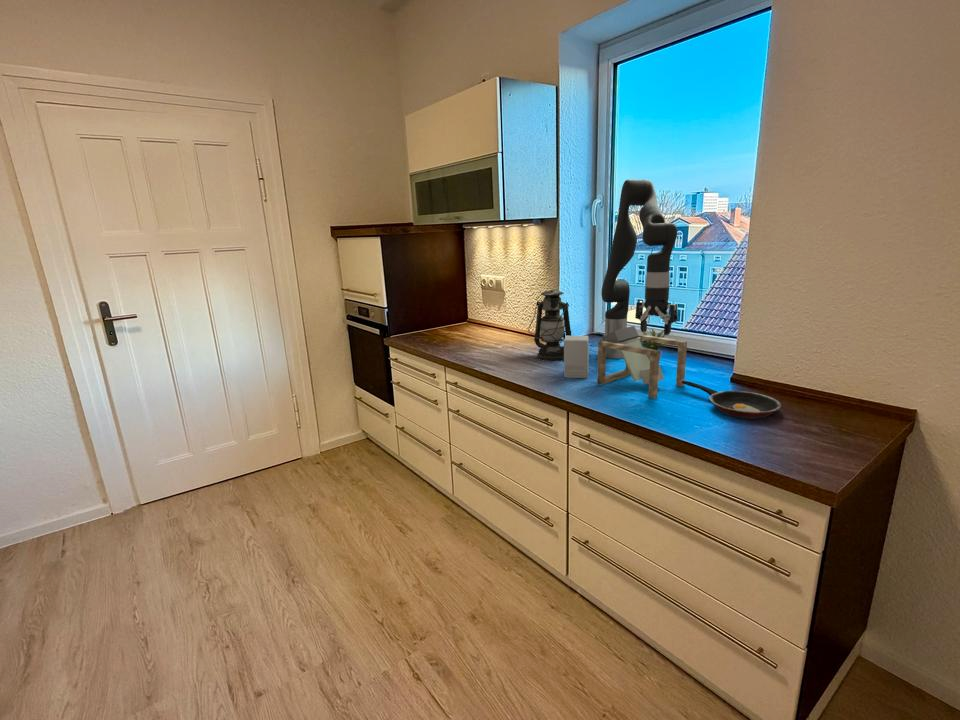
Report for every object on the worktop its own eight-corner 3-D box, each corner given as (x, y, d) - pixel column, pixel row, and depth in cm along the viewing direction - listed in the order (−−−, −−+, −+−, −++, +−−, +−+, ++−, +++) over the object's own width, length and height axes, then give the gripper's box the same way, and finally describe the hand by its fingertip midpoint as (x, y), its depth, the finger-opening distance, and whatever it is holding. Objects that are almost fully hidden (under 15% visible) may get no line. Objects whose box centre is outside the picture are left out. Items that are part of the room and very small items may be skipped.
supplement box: (588, 371, 191) (589, 335, 187) (587, 378, 182) (587, 340, 178) (565, 371, 193) (565, 334, 189) (563, 377, 185) (563, 339, 181)
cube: (639, 370, 168) (652, 368, 164) (648, 367, 171) (660, 365, 167) (643, 384, 168) (655, 382, 164) (651, 381, 171) (663, 379, 167)
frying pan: (752, 427, 132) (754, 414, 131) (662, 396, 160) (662, 385, 159) (794, 413, 141) (795, 401, 140) (700, 385, 168) (701, 375, 167)
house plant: (677, 364, 195) (679, 324, 190) (669, 373, 184) (671, 331, 179) (641, 360, 202) (643, 322, 198) (632, 369, 191) (633, 329, 187)
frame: (597, 384, 175) (598, 341, 171) (628, 372, 187) (629, 332, 182) (653, 398, 158) (656, 351, 154) (684, 385, 169) (687, 341, 165)
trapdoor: (602, 337, 172) (611, 331, 168) (626, 330, 181) (636, 325, 177) (624, 385, 169) (635, 381, 165) (647, 376, 177) (658, 372, 173)
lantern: (579, 355, 215) (579, 289, 208) (559, 366, 201) (558, 294, 193) (542, 351, 226) (541, 287, 219) (521, 360, 212) (519, 293, 204)
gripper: (683, 285, 156) (680, 334, 160) (644, 283, 167) (642, 328, 171) (670, 287, 151) (668, 337, 156) (632, 285, 162) (630, 332, 166)
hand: (655, 333), depth 163 cm, fingers open, 8 cm apart
